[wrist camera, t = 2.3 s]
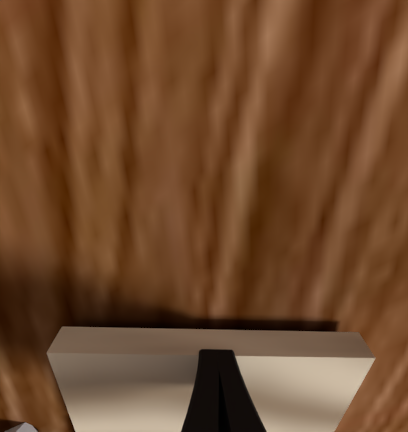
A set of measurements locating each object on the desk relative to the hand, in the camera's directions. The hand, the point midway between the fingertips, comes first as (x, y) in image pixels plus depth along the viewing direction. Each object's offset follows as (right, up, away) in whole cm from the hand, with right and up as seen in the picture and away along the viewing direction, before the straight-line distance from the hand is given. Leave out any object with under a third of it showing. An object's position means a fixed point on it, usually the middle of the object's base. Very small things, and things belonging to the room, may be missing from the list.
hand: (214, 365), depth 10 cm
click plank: (0, -2, +2) cm, 3 cm away
